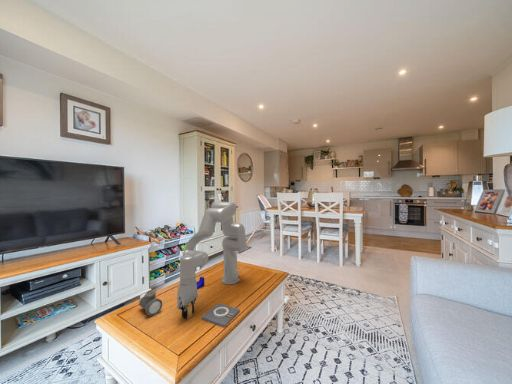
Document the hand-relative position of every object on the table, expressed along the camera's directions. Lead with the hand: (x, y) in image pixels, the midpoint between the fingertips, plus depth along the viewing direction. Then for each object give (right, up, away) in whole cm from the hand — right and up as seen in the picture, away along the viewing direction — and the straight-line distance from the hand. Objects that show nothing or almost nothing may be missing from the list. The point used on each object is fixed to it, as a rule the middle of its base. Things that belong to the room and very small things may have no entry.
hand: (188, 314), depth 104 cm
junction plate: (+17, -1, +1) cm, 17 cm away
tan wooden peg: (0, -1, 0) cm, 1 cm away
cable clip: (-5, -1, +29) cm, 29 cm away
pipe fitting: (-22, -1, +4) cm, 22 cm away
